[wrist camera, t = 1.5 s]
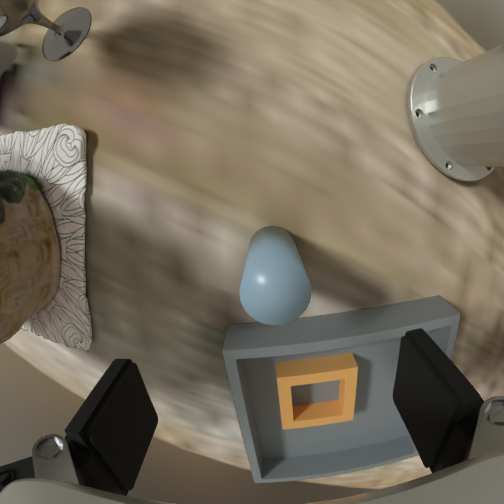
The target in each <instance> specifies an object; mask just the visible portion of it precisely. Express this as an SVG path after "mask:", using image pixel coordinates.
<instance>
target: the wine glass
mask: <svg viewBox="0 0 504 504" xmlns="http://www.w3.org/2000/svg"><path fill="white" fill-rule="evenodd" d="M26 24H37V25H41V26H44V27H47V28H49V29H48V31H47V32H46V34H45V37H44V40H43V44H42V52H43V55H44V57H45V58H46V59H47V60H49V61H57V60H61V59H63V58H65V57H66V56H68V55H69V54H71V53H72V52H73V51H74V50H75V49H76V48H77V47H78V46H79V45H80V44H81V43H82V41H83V40H84V38H85V36H86V35H87V33H88V30H89V28H90V24H91V15H90V12H89V11H88V10H87V9H85V8H82V7H78V8H73V9H70V10H68V11H66V12H65V13H63V14H62V15H60V16H59V17H58V18H57V19H56V20H55V21H54V22H52V21H50V20H49V19H48V18H46V17H45V16H44V15H43V14H42V13H41V11H40V9H39V0H0V37H1V36H3V35H6V34H8V33H10V32H12V31H14V30H15V29H17V28H19V27H21V26H23V25H26Z"/></svg>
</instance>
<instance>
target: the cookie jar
mask: <svg viewBox="0 0 504 504" xmlns="http://www.w3.org/2000/svg"><path fill="white" fill-rule="evenodd" d="M86 177H87V164H86V133H85V132H84V130H83V129H81V128H79V127H77V126H75V125H69V124H59V125H55V126H51V127H48V128H42V129H39V130H36V131H30V132H25V131H17V132H12V133H11V134H7V135H2V136H0V344H1V343H3V342H5V341H7V340H8V339H10V338H11V337H12V336H13V335H14V334H16V333H17V332H18V331H19V330H20V329H23V330H25V331H29V332H30V331H31V332H32V333H34V334H36V335H38V336H43V338H44V339H49V340H51V341H53V342H56V343H63V344H65V345H66V346H67V347H71V346H72V347H74V348H79V349H84V350H86V351H87V350H89V349H90V346H91V342H92V326H91V316H90V311H89V306H88V301H87V295H86V271H85V220H86V217H85V209H84V198H85V192H86Z"/></svg>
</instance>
